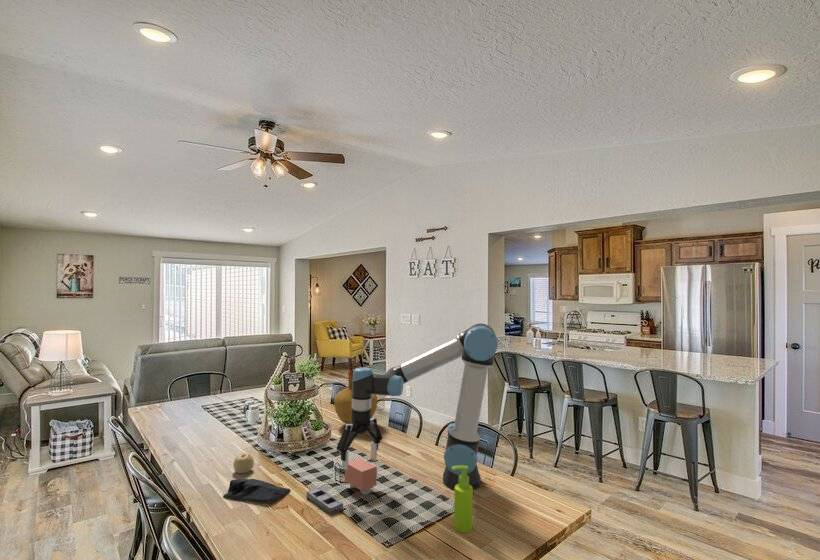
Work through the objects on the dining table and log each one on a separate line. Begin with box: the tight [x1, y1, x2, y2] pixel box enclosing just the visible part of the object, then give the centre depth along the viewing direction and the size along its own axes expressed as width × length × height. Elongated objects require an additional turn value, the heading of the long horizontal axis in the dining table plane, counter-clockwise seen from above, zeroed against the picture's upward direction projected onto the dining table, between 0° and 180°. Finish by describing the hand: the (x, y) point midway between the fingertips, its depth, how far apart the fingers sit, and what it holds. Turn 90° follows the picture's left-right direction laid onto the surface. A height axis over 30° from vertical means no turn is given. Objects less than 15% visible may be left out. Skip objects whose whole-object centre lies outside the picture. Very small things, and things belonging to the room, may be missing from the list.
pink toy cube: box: [344, 457, 378, 495], centre depth 166 cm, size 11×7×10 cm, turn 43°
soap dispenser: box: [452, 465, 474, 534], centre depth 141 cm, size 6×7×20 cm
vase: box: [333, 369, 378, 425], centre depth 240 cm, size 24×24×30 cm
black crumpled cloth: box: [222, 478, 291, 504], centre depth 162 cm, size 15×22×5 cm
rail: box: [306, 486, 344, 515], centre depth 156 cm, size 16×5×2 cm, turn 43°
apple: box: [233, 452, 255, 474], centre depth 181 cm, size 8×8×8 cm
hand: (359, 463), depth 167 cm, fingers open, 13 cm apart
